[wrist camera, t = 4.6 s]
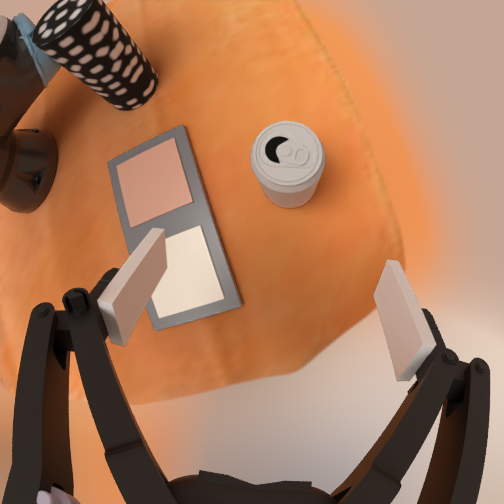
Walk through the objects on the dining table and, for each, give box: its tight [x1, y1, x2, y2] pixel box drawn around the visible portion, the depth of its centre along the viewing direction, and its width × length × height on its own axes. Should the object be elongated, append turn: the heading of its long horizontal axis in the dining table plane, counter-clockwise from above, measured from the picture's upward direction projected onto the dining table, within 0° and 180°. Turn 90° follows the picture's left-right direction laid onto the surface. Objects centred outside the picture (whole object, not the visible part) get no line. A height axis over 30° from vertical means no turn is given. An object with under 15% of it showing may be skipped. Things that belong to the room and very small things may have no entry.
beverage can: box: [250, 121, 325, 208], centre depth 29 cm, size 6×6×12 cm
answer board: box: [108, 125, 243, 331], centre depth 36 cm, size 24×12×2 cm, turn 19°
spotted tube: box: [32, 0, 158, 111], centre depth 27 cm, size 8×8×20 cm
